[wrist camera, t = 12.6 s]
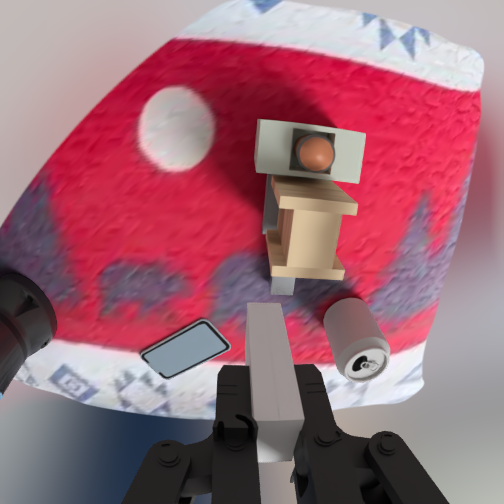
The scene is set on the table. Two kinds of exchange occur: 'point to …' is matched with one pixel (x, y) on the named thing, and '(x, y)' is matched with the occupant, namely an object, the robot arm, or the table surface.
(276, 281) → the rail
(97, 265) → the table surface
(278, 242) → the carriage
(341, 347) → the can
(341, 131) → the grey hollow block
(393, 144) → the table surface
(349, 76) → the table surface
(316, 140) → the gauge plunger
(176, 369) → the smartphone
